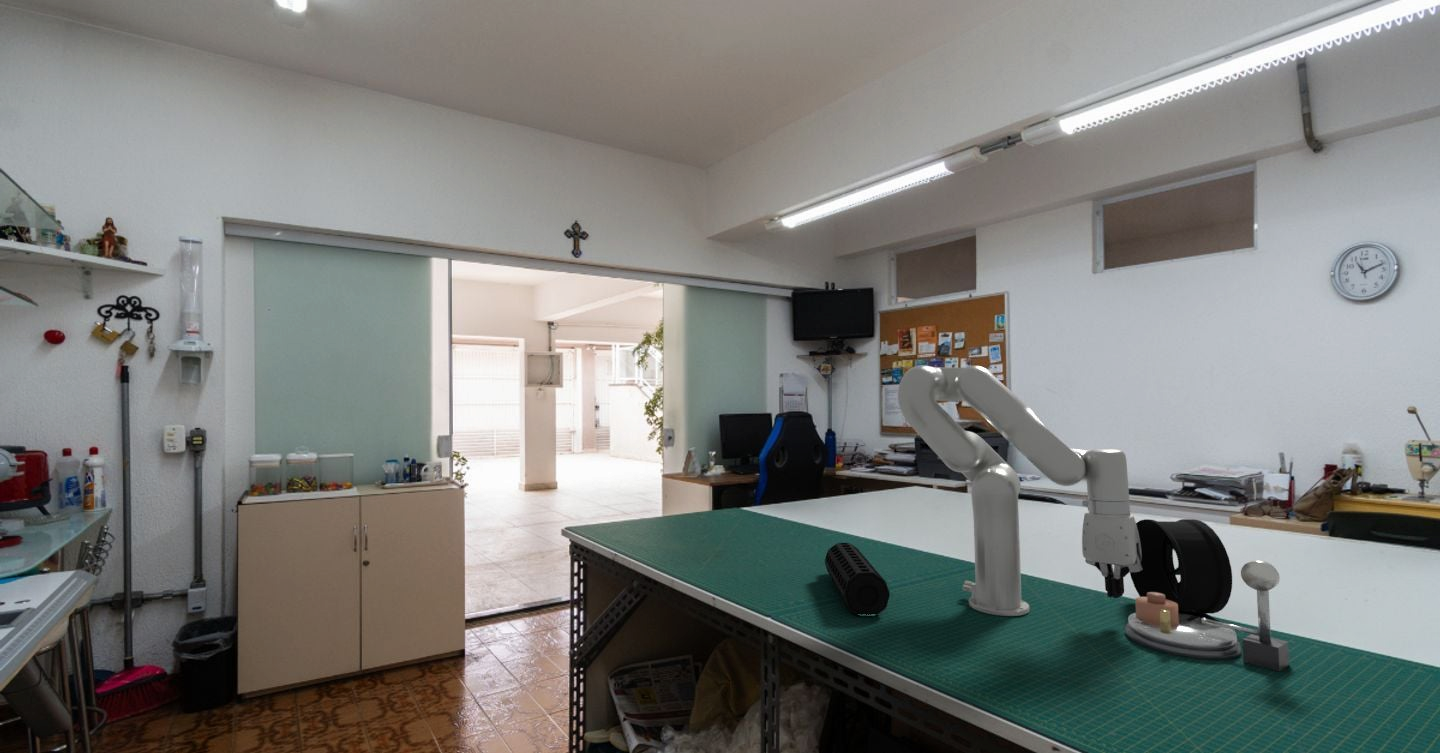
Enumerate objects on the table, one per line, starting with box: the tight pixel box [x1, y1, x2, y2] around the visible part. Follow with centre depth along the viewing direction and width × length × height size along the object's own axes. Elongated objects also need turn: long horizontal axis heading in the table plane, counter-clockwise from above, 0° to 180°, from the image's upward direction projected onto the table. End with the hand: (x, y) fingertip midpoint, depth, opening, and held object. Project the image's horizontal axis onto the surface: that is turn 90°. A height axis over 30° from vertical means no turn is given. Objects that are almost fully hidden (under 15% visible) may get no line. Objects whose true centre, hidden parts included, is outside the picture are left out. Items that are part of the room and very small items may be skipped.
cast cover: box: [1134, 592, 1179, 626], centre depth 127 cm, size 7×7×5 cm
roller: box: [824, 542, 891, 615], centre depth 158 cm, size 38×10×10 cm, turn 179°
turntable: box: [1127, 609, 1238, 650], centre depth 123 cm, size 17×17×6 cm
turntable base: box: [1125, 622, 1242, 661], centre depth 123 cm, size 18×18×1 cm
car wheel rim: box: [1129, 518, 1233, 614], centre depth 141 cm, size 20×10×20 cm, turn 175°
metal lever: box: [1201, 559, 1290, 673], centre depth 116 cm, size 12×5×18 cm, turn 34°
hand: (1115, 596), depth 133 cm, fingers closed
